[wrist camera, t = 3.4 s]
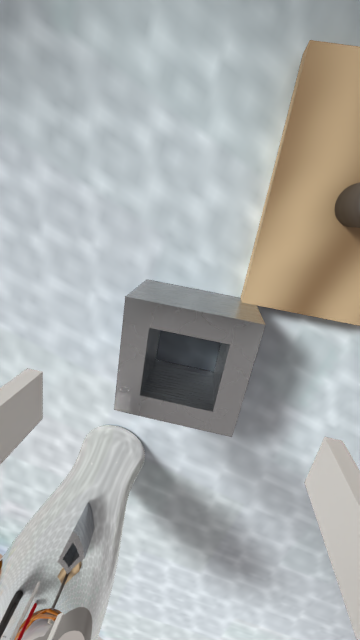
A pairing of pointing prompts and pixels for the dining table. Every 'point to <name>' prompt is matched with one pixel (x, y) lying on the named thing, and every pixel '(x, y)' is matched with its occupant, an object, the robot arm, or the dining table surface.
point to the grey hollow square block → (178, 380)
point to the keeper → (314, 196)
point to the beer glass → (71, 545)
